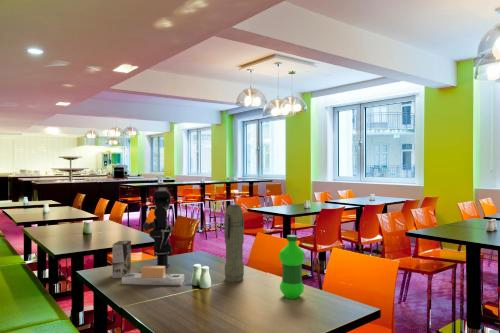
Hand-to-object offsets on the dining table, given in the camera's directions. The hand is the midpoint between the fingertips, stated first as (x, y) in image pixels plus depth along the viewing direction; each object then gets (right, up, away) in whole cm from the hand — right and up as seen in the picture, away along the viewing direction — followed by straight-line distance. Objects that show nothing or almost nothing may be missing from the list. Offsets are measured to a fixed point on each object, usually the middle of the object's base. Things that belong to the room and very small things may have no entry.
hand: (161, 247), depth 194 cm
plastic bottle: (+61, -14, -31) cm, 69 cm away
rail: (-1, -13, -12) cm, 18 cm away
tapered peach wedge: (-1, -13, -12) cm, 18 cm away
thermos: (+36, -13, -8) cm, 39 cm away
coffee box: (-19, -13, -2) cm, 23 cm away
